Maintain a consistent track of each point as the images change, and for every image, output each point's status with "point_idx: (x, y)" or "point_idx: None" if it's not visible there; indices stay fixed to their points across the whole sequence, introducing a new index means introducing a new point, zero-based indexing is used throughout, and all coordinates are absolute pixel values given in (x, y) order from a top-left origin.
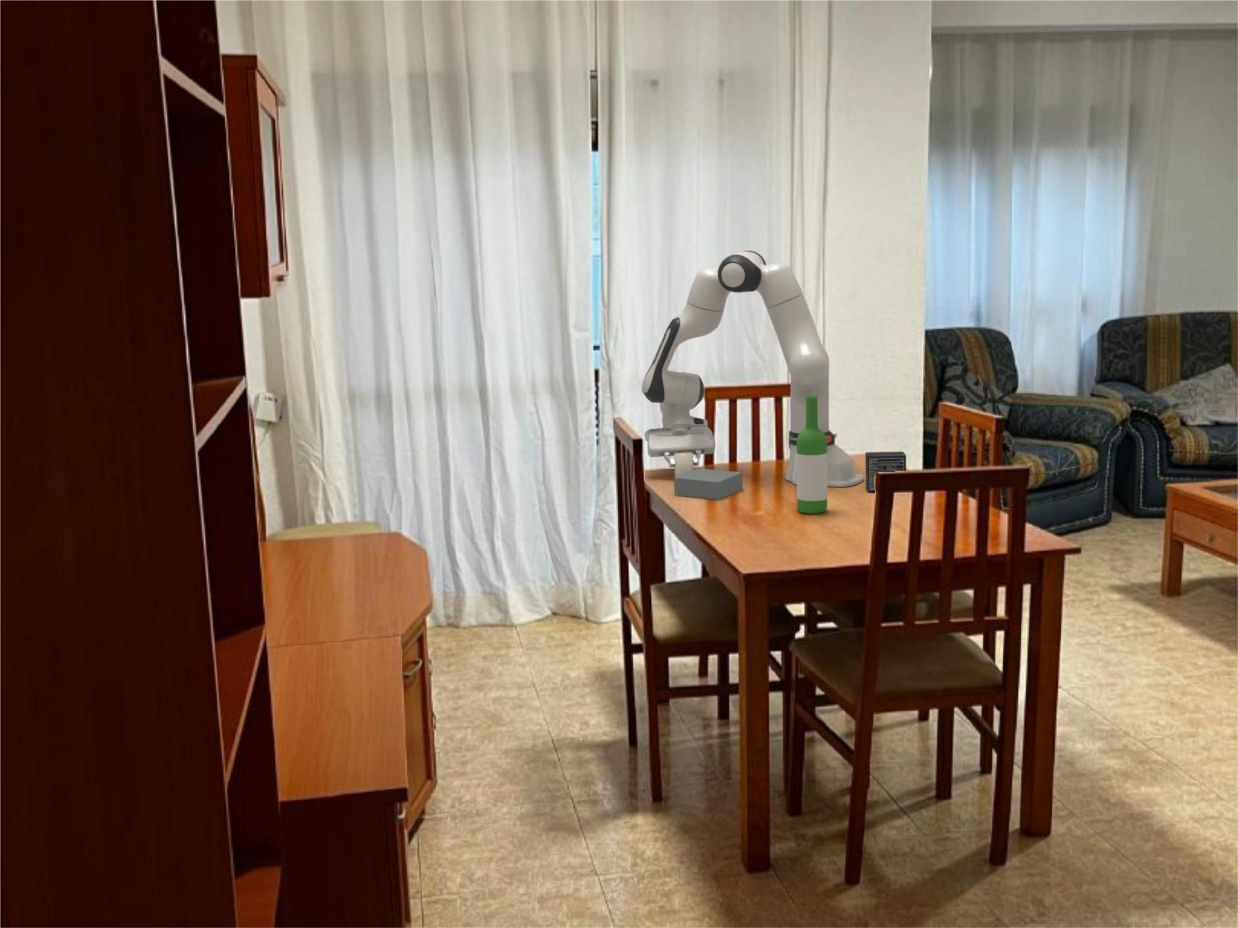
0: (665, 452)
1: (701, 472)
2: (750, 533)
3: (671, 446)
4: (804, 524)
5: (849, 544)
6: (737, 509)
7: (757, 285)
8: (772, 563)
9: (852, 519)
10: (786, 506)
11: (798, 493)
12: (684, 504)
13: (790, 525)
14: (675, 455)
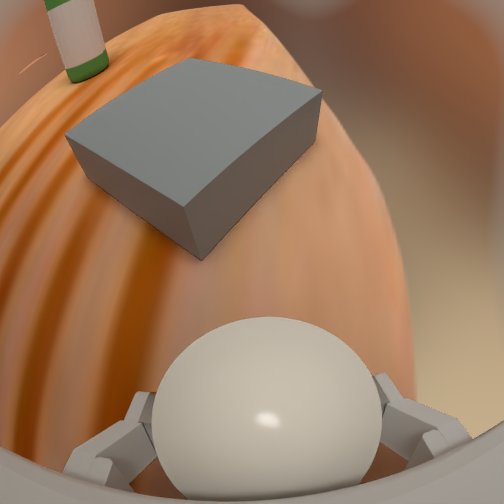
0: (463, 440)
1: (198, 132)
2: (209, 25)
3: (440, 495)
4: (136, 43)
5: (139, 26)
6: None
7: None
8: (218, 7)
9: None
10: (100, 82)
11: (103, 41)
12: None
13: (153, 39)
14: (365, 376)
